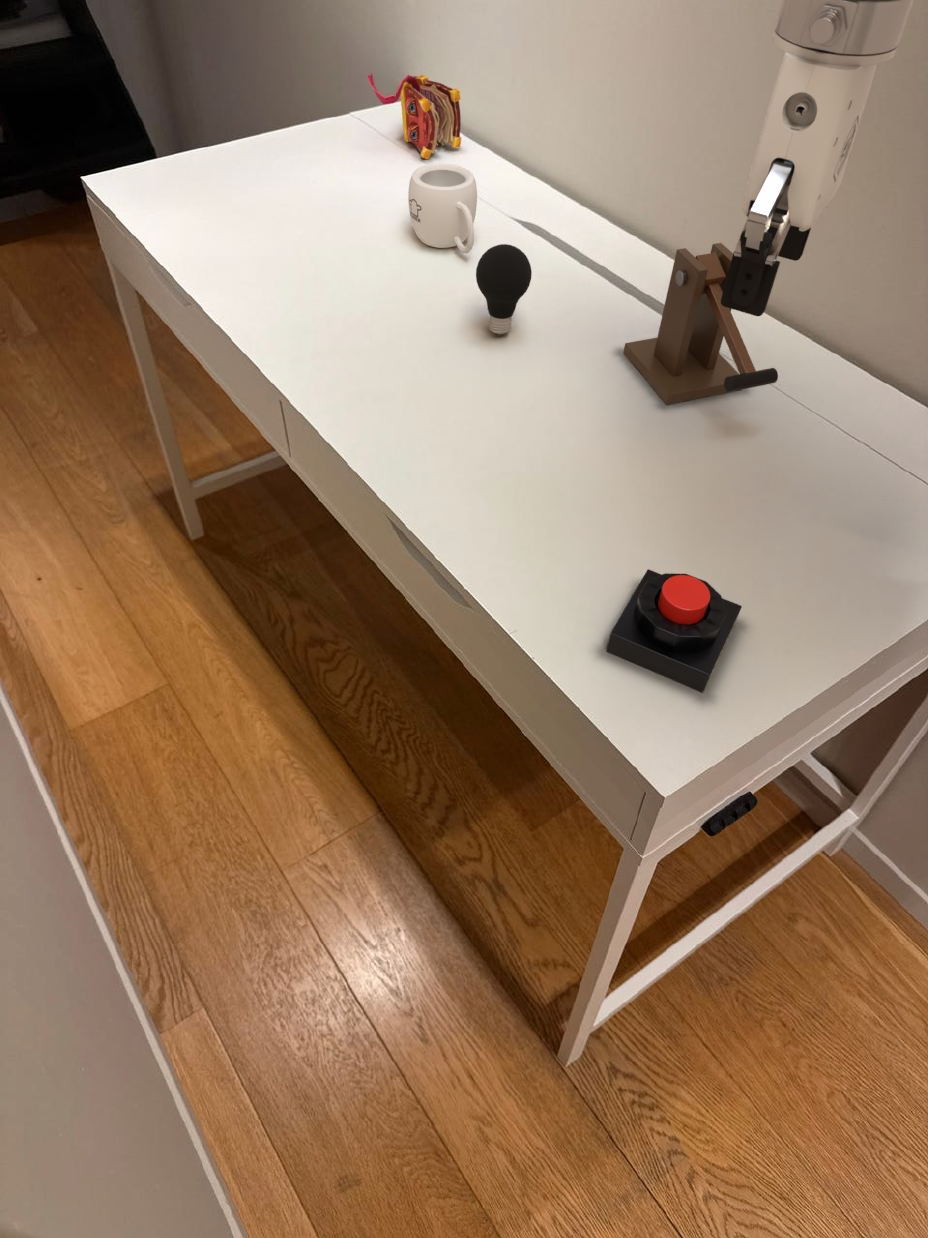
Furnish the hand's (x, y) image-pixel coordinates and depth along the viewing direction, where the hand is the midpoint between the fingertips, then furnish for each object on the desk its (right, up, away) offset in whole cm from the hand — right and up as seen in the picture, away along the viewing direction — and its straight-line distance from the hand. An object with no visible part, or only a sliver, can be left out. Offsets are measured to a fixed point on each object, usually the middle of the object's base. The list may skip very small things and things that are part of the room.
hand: (761, 281), depth 67 cm
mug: (-25, +22, +45) cm, 55 cm away
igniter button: (-6, -25, 0) cm, 26 cm away
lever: (+3, +3, +19) cm, 20 cm away
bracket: (+1, +1, +28) cm, 28 cm away
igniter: (-6, -27, +3) cm, 28 cm away
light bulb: (-19, +6, +31) cm, 37 cm away
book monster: (-30, +44, +64) cm, 83 cm away
